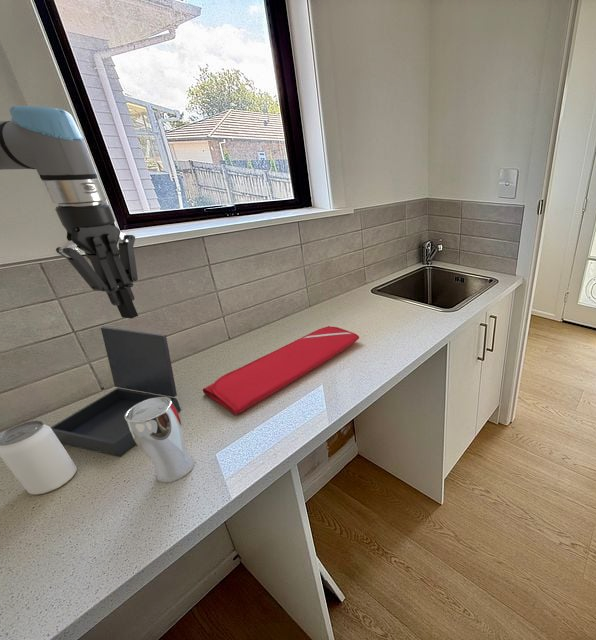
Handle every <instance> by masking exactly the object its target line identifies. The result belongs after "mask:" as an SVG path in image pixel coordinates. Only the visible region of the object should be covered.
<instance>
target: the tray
mask: <svg viewBox="0 0 596 640" xmlns="http://www.w3.org/2000/svg"><path fill="white" fill-rule="evenodd" d="M154 397H168V398H170V399H171V401H172V403H173V405H174V407H175V408H176V410H177V412H178V413H179V412H181V411H182V408H181V406H180V404H179V401H178V399H177V397H170V396H165V395H159V394H153V393H147V392H142V391H136V390H130V389H124V388H119V387H115V388H114V389H112V390H111V391H110V392H108V393H106V394H104V395H103V396H101V397H99V398H98V399H96V400H94V401H92V402H91V403H89V404H88V405H85V406H84V407H82V408H80V409H79V410H77V411H75V412H74V413H72V414H71V415H69V416H67V417H66V418H63V419H62V420H61V421H59V422H57V423H55V424H54V425H52V426H49V427H50V428H51V429H52V430H53V432H54V433H55V435H56V436H57V438H58V439H59V441H60V442H61V444H62V445H63V446H64V445H65V446H69V447H74V448H79V449H82V450H83V449H84V450H87V451H92V452H96V453H100V454H105V455H110V456H115V457H118V458H121V457H122V456H124V455H125V454H127V453H128V452H129V451H130V450H131V449H133V448H134V447H135V446H137V444H136V443H135V441H134V439H133V438H132V435H131V433H130V431H129V428H128V425H127V422H126V420H125V414H126V412H127V411H128V410H129V409H130V408H131V407H133V406H134V405H136V404H138V403H140V402H142V401H144V400H147V399H150V398H154Z"/></svg>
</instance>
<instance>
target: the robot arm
mask: <svg viewBox="0 0 596 640" xmlns="http://www.w3.org/2000/svg"><path fill="white" fill-rule="evenodd" d="M9 114H10V116H11V120H0V170H36V173H37V174H38V176H39V178H40V180H41V182H42V185H43V186H44V188H45V191H46V193H47V195H48V198H49V200H50V202H51V203H52V204H55V205H57V206H55V208H54V210H55V212H56V214H57V217H58V219H59V221H60V223H61V226H63V228H64V229H65V231H66V240H67V242H66V243H65V244H64V245H63V246H58V247H56V248H55V251H56V253H57V254H59V255H60V256H62V257H64V258H65V259H67V260H68V262H69V263H70V264H71V266H73V268H74V269H75V271H77V273H78V274H79V275H80V276H81V278H82V279H83V280H84V281H85V283H87V285H88V286H89V287H90V288H91V289H92V290H93V291H95V292H96V291H98V292H105V293H106V295H107V297H108V299H109V301H110V304H111V305H112V306H116V307H117V310H118V312H119V315H120V316H121V318H123V319H130V320H131V319H134V318H137V317H139V314H138V311H137V309H136V307H135V305H134V301H135V295H134V293H133V290H132V287H134V283H135V282H138V279H139V278H138V271H137V264H136V257H135V256H136V255H135V249H134V245H135V242H136V236H135V235H134V234H128V233H127V234H126V233H123V232H122V231H121V230H120V228H118V226H117V225H116V224H115V223H116V219H115V217H114V214H113V212H112V209H111V207H110V204H108V203H106V202H105V201H106V200H107V197H106V195H105V192H104V189H103V187H102V185H101V182H100V180H99V179H100V178H99V177H98V175H97V173H96V171H95V168H94V166H93V163H92V160H91V157H90V155H89V151H88V149H87V146H86V143H85V138H84V137H83V135H82V134H81V132H80V129H79V127H78V125H77V123H76V121H75V119H74V117H73V115H72V114H70V112H68V111H66V110H64V109H62V108H56V107H49V106H48V107H47V106H36V105H35V106H33V105H13V106H11V107H10V108H9ZM79 249H80V250H79ZM81 251H83V252H84V254H85V256H86V258H87V259H89V261H90V263H89V262H88V261H87V259H86V258H85V257H84V256H83V255H82V254H81Z"/></svg>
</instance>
